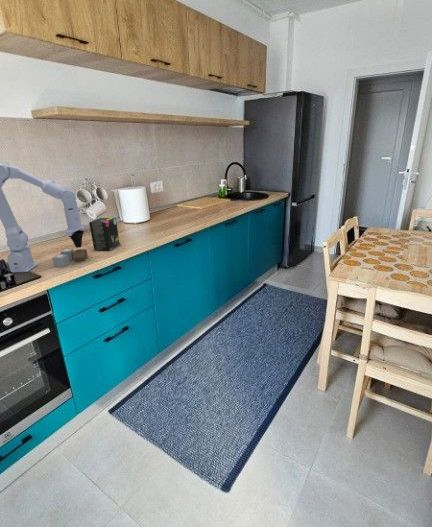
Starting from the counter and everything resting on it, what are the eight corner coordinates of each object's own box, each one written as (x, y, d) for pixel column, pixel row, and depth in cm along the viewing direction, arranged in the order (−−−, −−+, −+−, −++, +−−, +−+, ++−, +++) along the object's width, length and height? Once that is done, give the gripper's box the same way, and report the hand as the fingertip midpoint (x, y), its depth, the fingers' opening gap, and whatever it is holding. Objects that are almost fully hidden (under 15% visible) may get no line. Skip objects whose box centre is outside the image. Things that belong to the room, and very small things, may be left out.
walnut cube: (84, 261, 142) (82, 252, 140) (74, 261, 142) (72, 252, 140) (88, 258, 146) (86, 249, 145) (78, 258, 146) (76, 249, 145)
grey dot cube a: (72, 260, 144) (70, 251, 142) (62, 261, 143) (60, 252, 141) (75, 257, 148) (73, 248, 146) (65, 258, 147) (62, 249, 146)
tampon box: (110, 251, 155) (105, 222, 150) (93, 250, 157) (88, 222, 152) (120, 244, 165) (116, 217, 160) (104, 244, 167) (100, 217, 162)
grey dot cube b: (63, 267, 135) (60, 257, 134) (54, 267, 136) (52, 257, 135) (69, 264, 139) (67, 254, 138) (61, 263, 141) (59, 253, 139)
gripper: (75, 221, 130) (81, 251, 135) (88, 214, 144) (93, 242, 149) (58, 221, 130) (65, 252, 135) (72, 214, 144) (78, 242, 149)
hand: (78, 247), depth 142 cm, fingers closed
